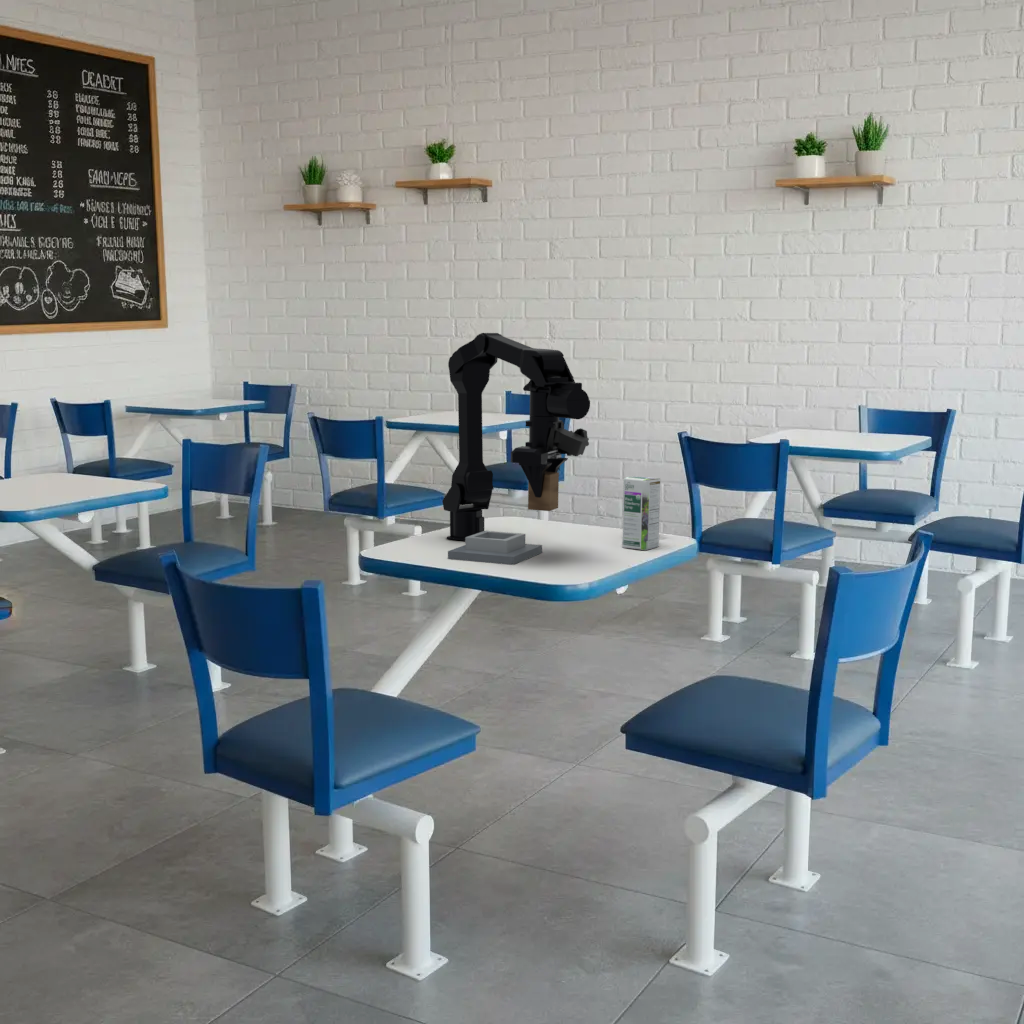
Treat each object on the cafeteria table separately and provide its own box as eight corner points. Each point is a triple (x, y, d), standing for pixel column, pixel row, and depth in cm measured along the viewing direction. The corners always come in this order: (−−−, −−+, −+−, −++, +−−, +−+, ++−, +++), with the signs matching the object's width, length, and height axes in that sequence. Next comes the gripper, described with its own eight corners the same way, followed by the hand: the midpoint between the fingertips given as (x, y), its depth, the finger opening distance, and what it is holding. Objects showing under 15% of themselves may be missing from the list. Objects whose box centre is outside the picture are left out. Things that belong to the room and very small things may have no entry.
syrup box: (621, 547, 250) (622, 477, 247) (636, 543, 254) (637, 474, 252) (645, 551, 246) (646, 479, 244) (659, 546, 251) (661, 477, 249)
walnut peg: (528, 509, 237) (528, 473, 236) (536, 506, 241) (537, 471, 240) (549, 511, 235) (550, 475, 234) (558, 507, 239) (558, 472, 238)
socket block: (447, 558, 237) (447, 538, 237) (479, 547, 250) (479, 527, 249) (513, 564, 232) (513, 543, 231) (542, 552, 244) (542, 532, 244)
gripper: (565, 421, 223) (564, 505, 226) (600, 414, 240) (598, 492, 243) (510, 418, 228) (509, 501, 230) (547, 411, 245) (546, 488, 247)
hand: (543, 495), depth 237 cm, fingers closed on walnut peg, 4 cm apart
